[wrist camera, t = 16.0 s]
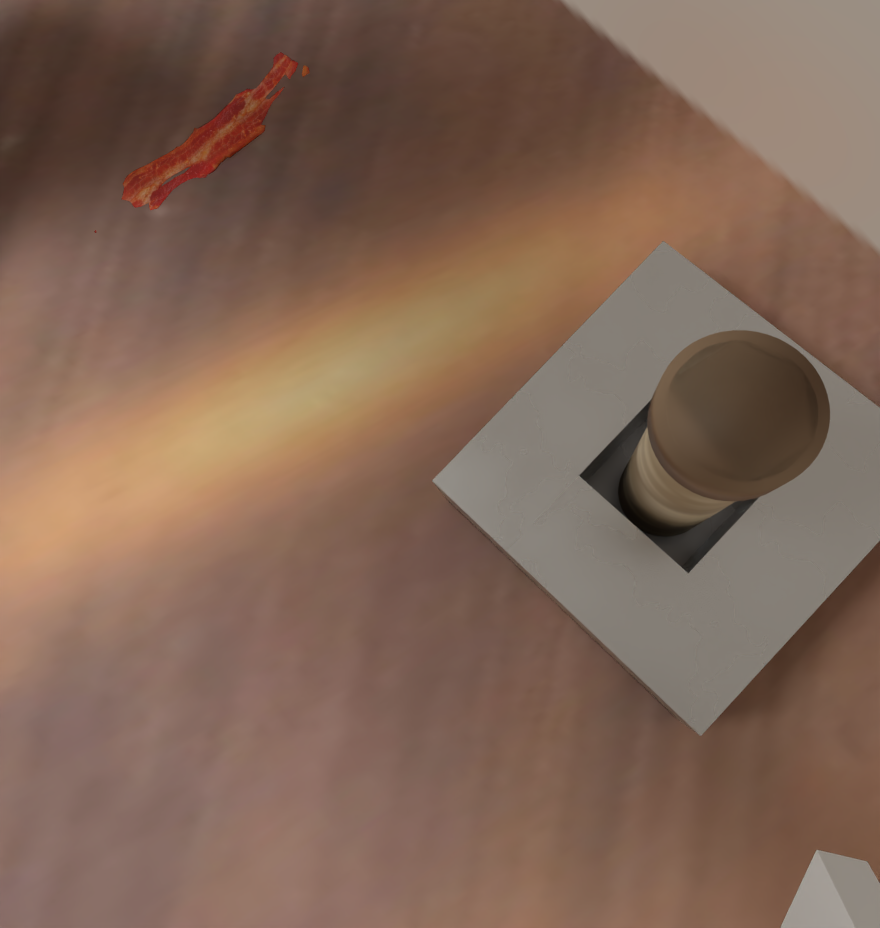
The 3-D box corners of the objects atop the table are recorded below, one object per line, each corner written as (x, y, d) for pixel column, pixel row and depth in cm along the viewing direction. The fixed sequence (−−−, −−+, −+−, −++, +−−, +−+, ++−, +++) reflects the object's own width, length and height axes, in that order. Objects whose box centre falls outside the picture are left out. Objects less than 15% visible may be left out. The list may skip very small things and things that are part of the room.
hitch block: (446, 499, 36) (431, 480, 32) (647, 290, 37) (663, 240, 32) (677, 719, 33) (700, 736, 28) (892, 485, 34) (951, 462, 29)
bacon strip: (324, 83, 42) (320, 75, 42) (119, 265, 42) (113, 260, 41) (281, 43, 43) (277, 35, 43) (80, 221, 43) (74, 215, 42)
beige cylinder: (590, 494, 35) (620, 415, 22) (658, 422, 35) (730, 298, 22) (668, 564, 34) (752, 528, 20) (738, 489, 34) (866, 403, 21)
